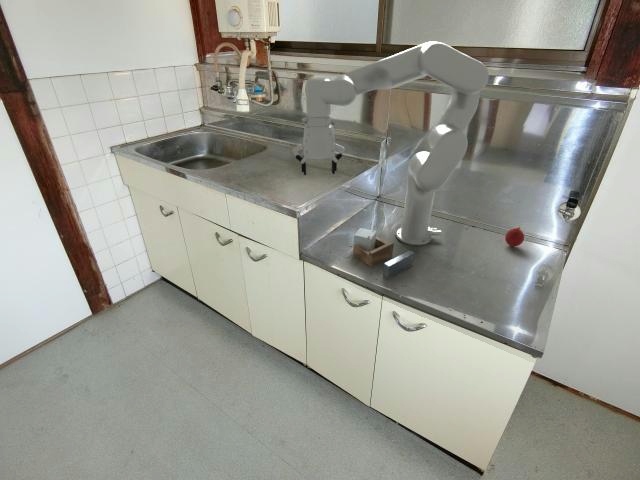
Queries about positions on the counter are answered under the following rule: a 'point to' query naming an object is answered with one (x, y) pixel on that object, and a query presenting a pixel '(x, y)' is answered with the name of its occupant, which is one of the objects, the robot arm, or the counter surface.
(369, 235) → the skincare box
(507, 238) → the onion
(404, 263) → the backstop rail
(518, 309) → the counter surface
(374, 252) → the caddy
